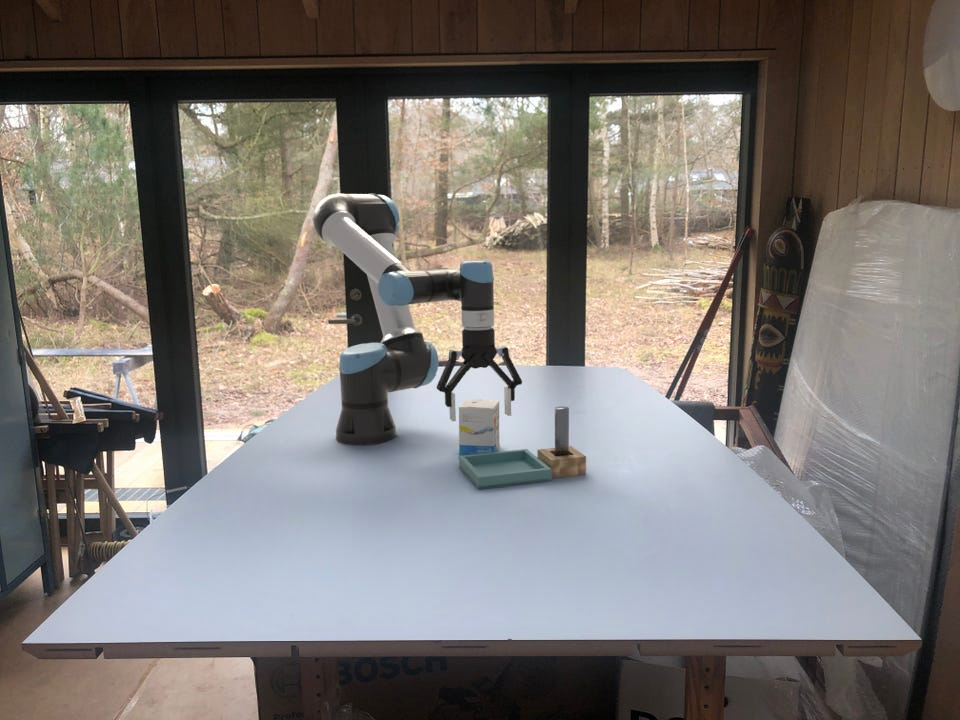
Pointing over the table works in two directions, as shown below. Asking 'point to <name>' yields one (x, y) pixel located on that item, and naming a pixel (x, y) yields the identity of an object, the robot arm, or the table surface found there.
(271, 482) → the table surface
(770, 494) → the table surface
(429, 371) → the robot arm
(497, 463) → the tray
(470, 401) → the ink box
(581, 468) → the wooden frame
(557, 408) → the cylinder
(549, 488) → the table surface
